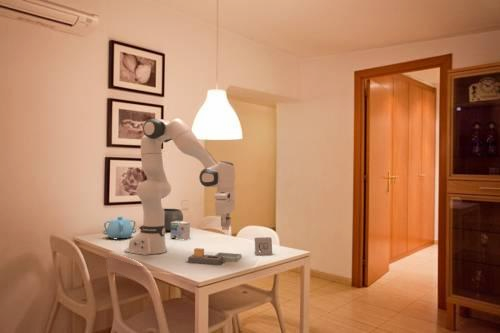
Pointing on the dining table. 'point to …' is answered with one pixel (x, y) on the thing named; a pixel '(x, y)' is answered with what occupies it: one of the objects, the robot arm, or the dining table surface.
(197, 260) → the fuse block
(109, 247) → the dining table surface
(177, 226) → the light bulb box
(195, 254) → the fuse
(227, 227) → the fuse
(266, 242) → the electrical switch
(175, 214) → the dark gray rounded block
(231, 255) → the parts tray
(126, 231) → the decorative pot
